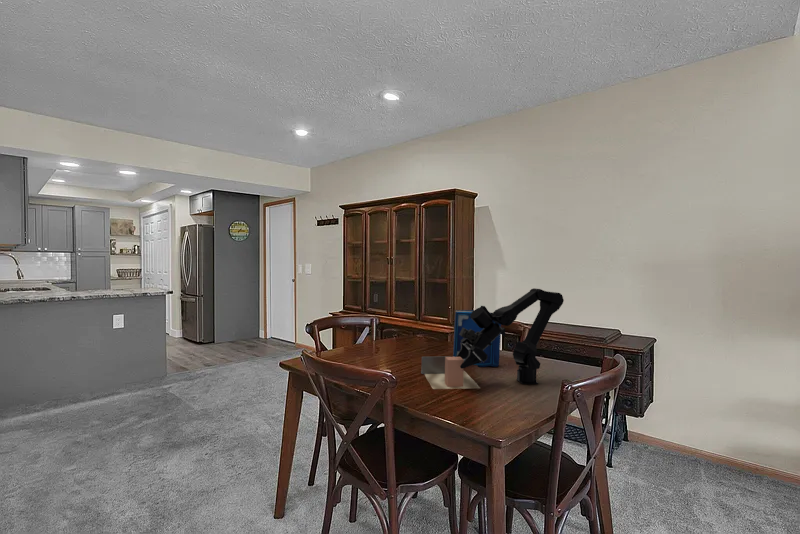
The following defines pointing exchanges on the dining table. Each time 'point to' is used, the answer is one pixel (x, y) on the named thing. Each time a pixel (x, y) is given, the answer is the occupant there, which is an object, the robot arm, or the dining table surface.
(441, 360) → the bookend
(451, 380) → the salmon pink rectangular block
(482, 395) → the dining table surface
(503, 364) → the dining table surface
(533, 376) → the robot arm
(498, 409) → the dining table surface
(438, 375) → the beige cloth placemat
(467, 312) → the book
